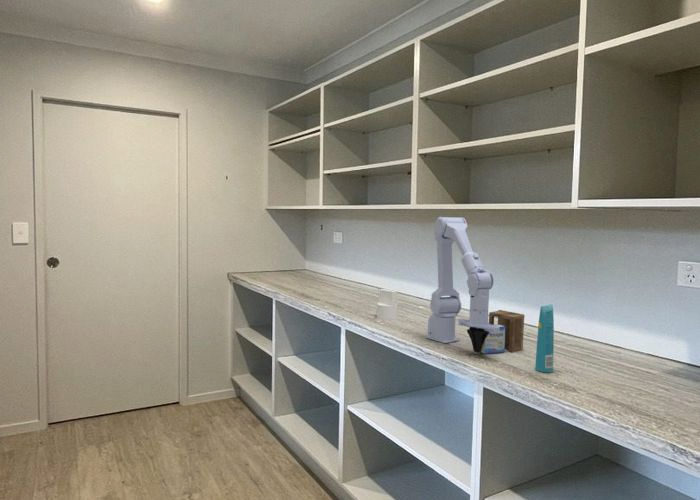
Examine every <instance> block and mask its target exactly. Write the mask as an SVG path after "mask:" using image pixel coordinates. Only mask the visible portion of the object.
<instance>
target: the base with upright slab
mask: <svg viewBox="0 0 700 500" xmlns="http://www.w3.org/2000/svg"><path fill="white" fill-rule="evenodd" d="M398 308H399V304H398V290H392V289H387V288H379V289H378V302H377V304H376V318H377V319H378V318H379V320H383V319H384V320H386V321H391V320H397V319H398V316H399V315H398V314H399V313H398V311H399V309H398ZM384 320H383V321H384Z"/></svg>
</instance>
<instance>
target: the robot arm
mask: <svg viewBox="0 0 700 500" xmlns="http://www.w3.org/2000/svg"><path fill="white" fill-rule="evenodd" d="M433 228H434V240H435V241H436V252H437V256H436V257H437V284H438V285H437V286H438V287H437V289H436V290H435V291H433V292H432V293H431V299H430V304H429V305H430V307H429V308H430V310H431V312H432V313H431V314H430V316H429V317H428V322H427V335H426V336H425V338H426V339H429V340H433V341H436V342H439V343H444V344H448V343H453V342H458V341H460V340H461V339H460V338H458V337H455V336H456V319H457V318H456V317H458V314H459V313H460V312H461V310H462V302H461V299H460V293H459V292H458V291H457V290H456V289H455V288H454V279H453V278H454V277H453V276H454V275H453V272H454V271H453V248H452V247H453V243H454V242H455V244H456V246H457V248H458V250H459V252H460V253H461V255H462V257H461V263H462V266H463V268H464V271H465V272H466V276H467V279H466V285H467V287H468V295H469V296H470V297H469V298H470V299H469V317H468V318H469V319H466V318H460V319H458V323H457V325H458V326H463V327H467V328H468V329H466V332H467V334H468V336H469V338H470V341H471V346H472V350H473V352H475V353H481V350H482V346H483V343H484V341H485V339H486V337H487V335H488V334H489V332H493V333H494V334H497V333H499V331H500V327H498V326H494V325H495V324H494V325H492V324H489V305H490V304H489V303H490V290H491V289H492V288H493V287H494V283H495V282H494V277H493V274H492V272H491V271H489V270H488V269H486V268H485V266H484V265H483V263H482V260H481V258H480V255H479V254H478V253H477V252H474V251H473V248H472V245H471V242H470V240H469V237H468V234H467V232H468V229H469V227H468V223H467V220H466V218H464V217H461V216H460V217H454V216H453V217H451V216H450V217H447V216H446V217H444V216H438V218H436V221H435V222H434V225H433Z"/></svg>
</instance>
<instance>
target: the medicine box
mask: <svg viewBox="0 0 700 500" xmlns="http://www.w3.org/2000/svg"><path fill="white" fill-rule="evenodd" d="M494 326H498V327H500V331H499V333H497V334H494V333H493V332H489V334H488V335H487V337H486V339H485V341H484V343H483V346H482V350H481V352H480V353H481V354H484V355H489V354H498V353H499V354H500V353H505V347H506V346H505V327H504V326H502V325H498V324H494Z"/></svg>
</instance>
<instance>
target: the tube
mask: <svg viewBox="0 0 700 500" xmlns="http://www.w3.org/2000/svg"><path fill="white" fill-rule="evenodd" d="M539 310H540V311H539V316H538V317H539V318H538V328H537V340H536V354H535V365H534V367H535V371H537V372H539V371H540V372H539V373H552V372H554V343H555V342H554V341H555V340H554V336H555V335H554V333H555V332H554V330H555V328H554V306H553V304H552V303H551V304H547V305H542V306H540V309H539Z"/></svg>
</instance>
